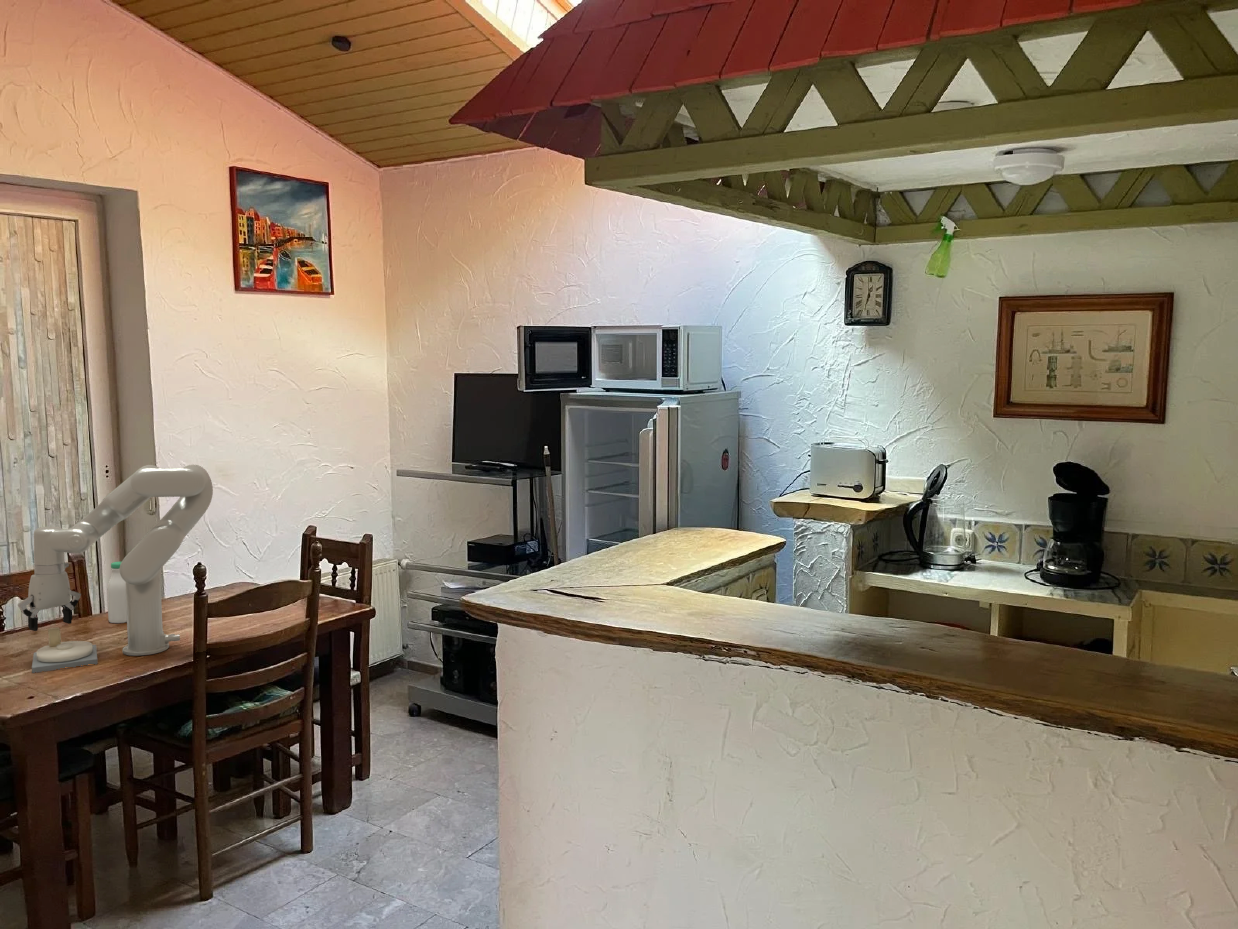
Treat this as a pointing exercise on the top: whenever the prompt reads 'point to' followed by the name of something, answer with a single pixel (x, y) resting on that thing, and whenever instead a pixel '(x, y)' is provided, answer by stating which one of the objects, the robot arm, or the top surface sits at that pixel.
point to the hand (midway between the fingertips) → (50, 626)
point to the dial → (63, 648)
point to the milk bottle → (116, 596)
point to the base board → (48, 666)
